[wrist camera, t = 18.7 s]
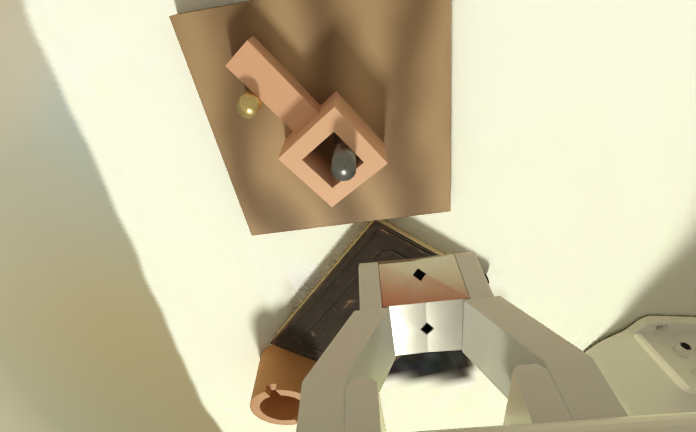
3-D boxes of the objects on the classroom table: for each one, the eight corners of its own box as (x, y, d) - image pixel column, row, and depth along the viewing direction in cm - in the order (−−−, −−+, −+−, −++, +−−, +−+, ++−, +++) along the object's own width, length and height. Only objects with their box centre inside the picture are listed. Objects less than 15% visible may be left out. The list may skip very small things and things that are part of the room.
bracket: (249, 350, 51) (236, 399, 46) (301, 334, 49) (295, 383, 44) (311, 412, 60) (307, 459, 55) (357, 401, 58) (358, 448, 53)
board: (446, -35, 26) (451, -35, 25) (447, 202, 37) (450, 211, 36) (177, 13, 28) (169, 16, 27) (254, 226, 39) (251, 235, 38)
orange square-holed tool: (268, 17, 27) (257, 25, 23) (383, 142, 32) (387, 163, 29) (218, 75, 29) (201, 90, 26) (333, 183, 34) (331, 207, 31)
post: (353, 126, 31) (354, 157, 26) (356, 146, 32) (357, 179, 27) (332, 129, 31) (329, 160, 26) (335, 148, 32) (333, 182, 27)
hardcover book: (273, 329, 49) (270, 344, 47) (373, 208, 38) (375, 221, 36) (371, 368, 54) (372, 383, 52) (485, 271, 43) (491, 285, 41)
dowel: (262, 84, 29) (254, 95, 27) (268, 104, 30) (260, 116, 28) (243, 87, 29) (233, 98, 27) (249, 107, 30) (240, 119, 28)
